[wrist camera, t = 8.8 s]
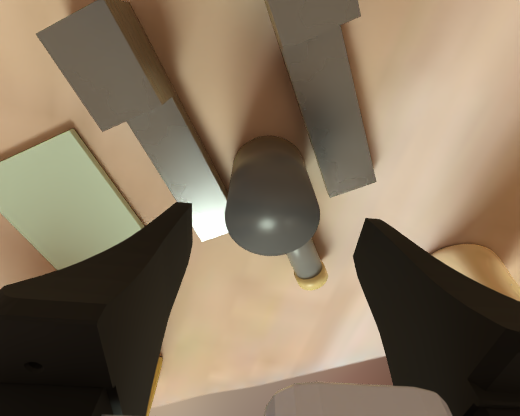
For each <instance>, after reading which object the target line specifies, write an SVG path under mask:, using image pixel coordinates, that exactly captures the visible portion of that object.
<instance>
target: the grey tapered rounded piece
mask: <svg viewBox="0 0 520 416" xmlns="http://www.w3.org/2000/svg"><path fill="white" fill-rule="evenodd" d="M319 220H320V209H319V205H318V202H317V199H316V196H315V193H314V190H313V187H312V184H311V182H310V179H309V176H308V173H307V170H306V167H305V164H304V161H303V158H302V156H301V154H300V152H299V151H298V149H297V148H296V147H295V146H294V145H293V144H292V143H290V142H289V141H287V140H285V139H283V138H280V137H276V136H262V137H258V138H255V139H253V140H251V141H249V142H247V143H246V144H245V145H244V146H242V148H241V149H240V150H239V151H238V153H237V155H236V157H235V159H234V163H233V168H232V174H231V180H230V186H229V192H228V197H227V203H226V209H225V225H226V228H227V230H228V232H229V234H230V236H231V237H232V239H233V240H234V241H235V242H236V243H237V244H238V245H239V246H241V247H242V248H244V249H245V250H247V251H249V252H252V253H255V254H259V255H264V256H278V255H284V254H287V256H288V258H289V260H290V263H291V265H292V267H293V269H294V275H295V278H296V280H297V282H298V284H299V286H300V287H301V288H302V289H305V290H315V289H318V288H320V287H321V286H323V285H324V284H325V282H326V281H327V278H328V274H327V271H326V269H325V266H324V264H323V262H322V261H321V260H320V258H319V255H318V253H317V250H316V248H315V245H314V243H313V240H312V236H313V235H314V233H315V232H316V230H317V227H318V224H319Z"/></svg>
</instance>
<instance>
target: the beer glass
mask: <svg viewBox="0 0 520 416" xmlns="http://www.w3.org/2000/svg"><path fill="white" fill-rule="evenodd" d="M431 255H432V256H434V257H435V258H437V259H438V260H440V261H441V262H443V263H445V264H446V265H448V266H449V267H451V268H453V269H455V270H456V271H458V272H460V273H462V274H463V275H465V276H467V277H469V278H471V279H473V280H474V281H476V282H478V283H480V284H482V285H484V286H487V287H489V288H491V289H493V290H495V291H497V292H499V293H501V294H503V295H506V296H508V297H510V298H513V299H515V300H517V301H520V287H519V285H518V284H517V283H516V281H515V280H514V279H513V277H512V276H511V274H510V273H509V271H508V270H507V268H506V267H505V265H504V264H503V262H502V261H501V260H500V258H499V257H498V256H497V255H496V254H495V253H494V252H493V251H492V250H490V249H488V248H486V247H484V246H481V245H477V244H458V245H453V246H449V247H446V248H443V249H440V250H438V251H436V252H434V253H432V254H431Z"/></svg>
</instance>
